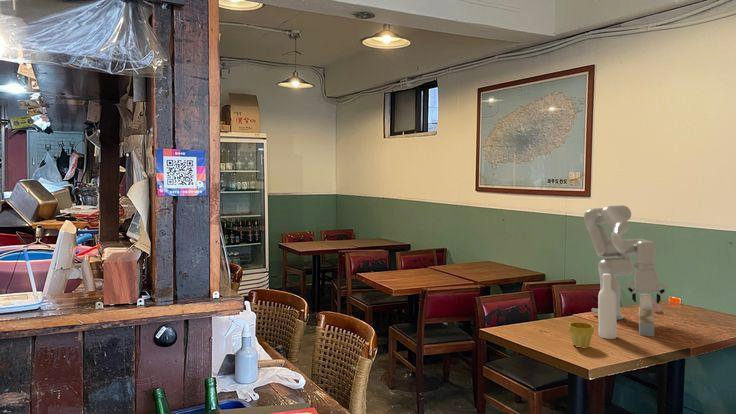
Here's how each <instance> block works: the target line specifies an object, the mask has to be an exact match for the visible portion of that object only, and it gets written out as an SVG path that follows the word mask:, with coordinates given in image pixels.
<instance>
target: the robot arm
mask: <svg viewBox="0 0 736 414" xmlns="http://www.w3.org/2000/svg"><path fill="white" fill-rule="evenodd" d="M631 211H632V210H631V209H630V208H629V207H628V206H627V205H608V206H605V207H598V208H596V207H595V208H590V209H588V210H586V211H585V212H584V216H583V222H584V226H585V228H586V231H588V233H589V235H590V237H591V241H592V245H593V247H594V250H595V252H596V253H595V254H596V255H597V256H598V258H599V257H600V258H603V259H602V260H600V261H598V264H597V269H598V274H599V275H598V276H599V282H600V284H599V285H600V287H599V288H600V290H602V289H603V278H602V276H603V274H611V289H612V290H613V291H614V292H615V295H616V320H617V321H619V320H623V319H624V318H625V317H624V315H623V314H622V313H621V285H620V284H621V283H620V282H619V280H618V279H617V277H621V276H622V277H625V276H630V275H632V274H633V273H634V276H633V280H631V281H629V282H627V283H625V286H626V288H627V290H628V291H629V292H630V293H631V299H632V300H633V302H634V303H637V291H638V292H640V291H641V292H655V293H656V302H657V303H656V304H657V305H659V303H660V302H661V295H662V294H663V293H665V291H666V289H667V288H668V286H667V285H666V284H664V283H662V282H660V281H659V273H658V270H657V269H656V260H655V259H656V249H655V248H656V246H655V245H656V244H655V242H654V241H652V240H647V239H644V238H640V237H639V238H625V239H624V238H623V237H622V235H624V234H625V233H627V231H629V229H630V223H629V220H630V219H631V218H632V212H631ZM600 224H607V226H608V227H609V228H610V230H611V234H610V237H609V234H608V231H607V230H606V229H605V228H604V227H603V226H602V225H600ZM631 255H636V263H633V261H632V258H631ZM634 268H635V269H634ZM632 285H633V289H632V288H631V286H632ZM659 286H660V287H661V289H660V287H659ZM659 289H660V290H659ZM600 290H599V291H600ZM591 312H593V313H595V314H598V308H594V307H592V308H591Z"/></svg>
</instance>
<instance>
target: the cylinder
mask: <svg viewBox="0 0 736 414" xmlns="http://www.w3.org/2000/svg"><path fill="white" fill-rule="evenodd" d="M652 298H653V294H651V293H650V294H649V293H644V292H643V293H640V294H639V307H640V309H641V310H646V311H651V310H654V307H653V300H654V299H652Z"/></svg>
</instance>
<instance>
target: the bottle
mask: <svg viewBox="0 0 736 414" xmlns="http://www.w3.org/2000/svg"><path fill="white" fill-rule="evenodd" d="M602 278H603V289H602V290H599V292H598V297H597V301H598V302H597V304H598V305H597V306H598V307H597V309H598V313H597V317H598V337H599V338H600V339H604V338H605V339H606V340H616V338H617V336H618V335H617V334H618V329H617V325H618V323H617V321H618V320H616V295H615V292H614V291H613V290H612V289H611V274H603V276H602Z"/></svg>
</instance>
